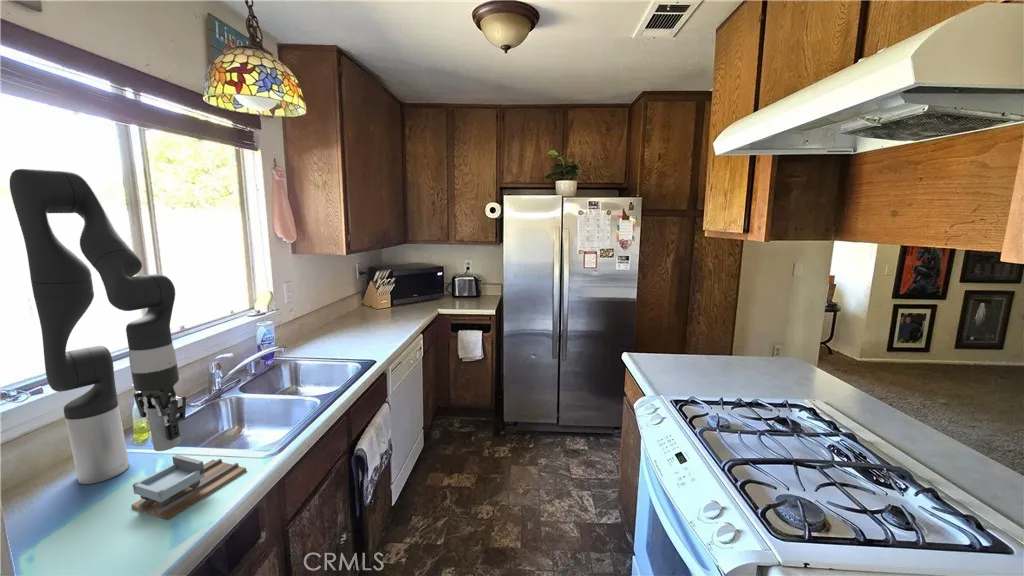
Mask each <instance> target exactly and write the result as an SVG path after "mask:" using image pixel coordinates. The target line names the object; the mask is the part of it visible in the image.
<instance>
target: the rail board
mask: <svg viewBox="0 0 1024 576" xmlns="http://www.w3.org/2000/svg"><path fill="white" fill-rule="evenodd" d="M203 465H204V472H205V473H204V475H205V477H204V478H202V479H200V484H199V486H198V487H196V488H190V487H187V488H185V489H183V490H181V491H180V492H178V493H176V494H175V495H173V496H171V497H172V500H171V502H170V503H169V504H168V505H166V506H163V505H160V504H159V501H156V500H153V499H148V500H144V499H142V498H140V499H139V500H137V501H135V502H134V503H132V504H131V509H133V510H136V511H140V512H143V513H145V512H146V513H145V514H149V515H150V516H151V515H152V516H154V517H157V518H160V519H164V520H166V521H169V520H171V519H172V518H174V517H176V516H177V515H179V514H180V513H182V512H184V511H185V510H186V509H188V508H190V507H191V506H193V505H194V504H196V503H198V502H200V501H201V500H203V499H205V498H206V497H207V496H209V495H210V494H212V493H213V492H215V491H216V490H218V489H220V488H222V487H223V486H225V485H226V484H228V483H229V482H231V481H233V480H234V479H236V478H237V477H239V476H241V475H243V474H244V473H245V472H247V467H243V466H239V463H238V462H235V463H233V464H232V463H227V462H224V461H223V459H221V458H217V459H211V460H210V461H208V462H206V463H203Z"/></svg>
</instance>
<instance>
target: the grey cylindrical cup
mask: <svg viewBox="0 0 1024 576" xmlns="http://www.w3.org/2000/svg"><path fill="white" fill-rule="evenodd" d="M168 410H170V407H169V408H166V409H163V411H164V412H165V411H168ZM147 411H148V417H149V423H150V424H149V429H151V430H150V434H151V440H152V445H153V450H154V451H156V452H164V451H169V450H171V449H174V448H176V447H177V446H179V445H180V443H181V438H180V436H179V437H178V438H176V439H174V440H171V441H170V440H167V437H166V431H165V424H164V421H163V419H162V417H159V416H158V413H157V409H156V408H151V407H150V406H147ZM169 416H170V414H168V418H169Z"/></svg>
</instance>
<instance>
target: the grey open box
mask: <svg viewBox="0 0 1024 576" xmlns="http://www.w3.org/2000/svg"><path fill="white" fill-rule="evenodd" d="M171 458H172V463H171V464H170V465H168V466H166V467H164V468H161V469H160V470H158V471H156V472H154V473H153V474H151V475H149V476H147V477H145V478H143V479H141V480H138V481H137V482H135V483H134V484H132V488H133V494H135V495H138V496H140V499H144V500H148V499H153V500H156V501H159V504H160V505H163V506H166V505H168V504H169V503H170V502H171V500H172V497H171V496H173V495H175V494H176V493H178V492H180V491H181V490H183V489H185V488H187V487H190V488H196V487H198V486H199V484H200V479H202V478H204V477H205V475H204V473H205V472H204V461H202V460H200V459H199V460H198V459H195V458H191V457H188V456H184V455H180V454H175V455H173V456H172V457H171Z"/></svg>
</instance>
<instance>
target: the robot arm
mask: <svg viewBox="0 0 1024 576" xmlns="http://www.w3.org/2000/svg"><path fill="white" fill-rule="evenodd" d="M9 191H10V196H11V199H12V203H13V206H14V209H15V210H14V211H15V213H16V215H17V219H18V223H19V226H20V230H21V232H22V236H23V240H24V245H25V251H26V254H27V260H28V261H27V262H28V269H29V276H30V277H29V278H30V282H31V288H32V294H33V298H34V302H35V307H36V310H37V314H38V319H39V325H40V328H41V329H40V330H41V336H42V348H43V357H44V359H43V360H44V369H45V376H46V380H47V382H48V385H49V386H50V389H52V391H55V392H57V393H59V392H60V393H61V392H68V391H70V390H71V391H72V390H76V389H80V388H84V387H87V386H92V385H93V386H92V387H91V388H90V389H89V390H88V391H86V392H85V393H84V394H82V395H80V396H78V397H76V398H74V399H72V400H70V401H69V402H68V403H66V404H65V405H64V407H63V414H64V419H65V424H66V428H67V429H66V430H67V433H68V438H69V444H70V447H71V454H72V457H73V463H74V468H75V473H76V478H77V482H78V484H81V485H92V484H96V483H100V482H104V481H107V480H110V479H113V478H114V477H115V478H116V477H117V476H119V475H121V474H122V473H124V472H125V471H126V470H127V469H129V466H130V462H129V457H128V451H127V445H126V438H125V433H124V428H123V423H122V416H121V412H120V406H119V401H118V394H117V393H118V392H117V387H116V380H115V368H114V362H113V358H112V353H111V351H110V350H109V349H108V348H107V346H106V347H105V346H103V345H95V346H89V347H84V348H79V349H74V350H69V351H67V345H68V341H69V338H70V336H71V333H72V331H73V330H74V328H75V326H76V325H77V323H78V322H79V321H80V320H81V319H82V317H83V315H84V314H85V313H86V312H87V310H88V308H89V307H90V306H91V304H92V302H93V300H94V297H95V291H94V286H93V285H94V284H93V278H92V272H91V269H90V267H89V266H88V265H87V263H85V262H84V261H83V260H82V259H81V258H80V257H79V256H78V255H77V254H76V253H74V252H73V251H72V250H71V249H70V248H68V246H66V245H65V244H64V243H63V242H62V241H61V240H60V239H59V238H58V237H57V236H56V234H55V232H54V231H53V228H52V227H51V225H50V221H49V218H48V214H77V215H78V216H80V217H81V218H82V219H83V221H84V224H83V228H82V231H81V233H80V237H79V247H80V251H81V253H82V254H83V256H84V257H85V259H86V260H87V261H88V262H89V263H90V264H91V266H92V267H93V268H94V270H96V272H98V274H99V276H100V279H101V282H102V283H103V286H104V290H105V292H106V293H105V294H106V297H107V299H108V302H109V303H110V304H111V306H112V307H114V308H116V309H118V310H120V311H123V312H132V311H133V312H134V311H137V310H144V309H147V310H146V313H145V314H144V315H143V316H141V317H139V318H138V319H135V320H133V321H130V322H129V323H128V324H126V327H125V332H126V340H127V345H128V352H129V356H128V359H129V365H130V366H129V367H130V372H131V379H132V383H133V389H134V390H135V391H136V392H134V393H133V398H134V401H135V403H136V406H137V410H138V412H139V416H140V418H141V419H144V418H145V420H146V421H147V423H148V422H149V417H148V411H147V406H150V407H151V408H156V409H157V413H158V416H159V417H162V419H163V421H164V424H165V431H166V437H167V440H170V441H171V440H174V439H176V438H178V437H180V436H181V434H180V433H181V432H180V428H179V422H181V421H184V420H185V419H186V408H187V397H186V396H185V395H182V396H177V393H176V391H175V387H174V386H175V385H176V384H177V383H179V381H180V377H179V376H180V375H179V374H180V373H179V368H178V361H177V355H176V350H175V347H174V344H173V339H172V333H171V321H172V315H173V309H174V304H175V300H176V288H175V284H174V283H173V281H172V280H171V279H170V278H169V277H168V276H166V275H164V274H160V273H154V274H153V273H152V274H151V273H150V274H145V275H144V274H143V275H137V274H139V273H140V272H141V270H142V268H143V263H142V260H141V259H140V258H139V257H138V255H137V254H136V253H135V251H133V250H132V248H131V247H130V246H129V245H128V244H127V242H126V241H124V239H123V238H122V236H121V235H120V234H119V232H118V231H117V230H116V229H115V227H114V224H113V223H112V222H111V220H110V218H109V216H108V214H107V212H106V211H105V209H104V207H103V205H102V204H101V202H100V200H99V198H98V197H97V195H96V193H95V192H94V190H93V188H92V187H91V185H90V184H89V183H88V181H86V180H85V178H83V177H82V176H81V175H79V174H78V173H74V172H71V171H62V170H61V171H60V170H48V169H32V168H31V169H28V168H18V169H15V170H13V171H12V172H11V174H10V177H9ZM169 407H170V410H168V411H165V412H164V411H163V409H166V408H169ZM168 414H170V416H169V418H168ZM149 425H150V423H149ZM149 429H150V428H149ZM150 431H151V429H150Z"/></svg>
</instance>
